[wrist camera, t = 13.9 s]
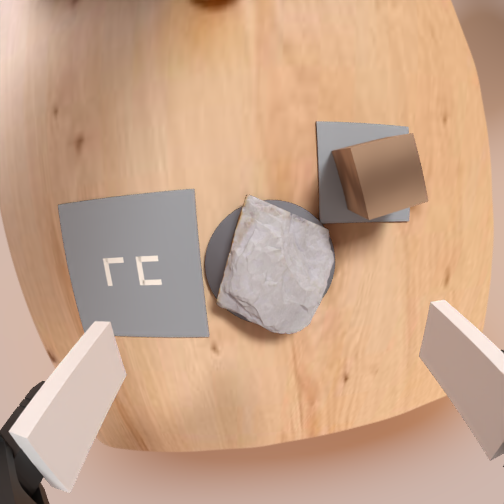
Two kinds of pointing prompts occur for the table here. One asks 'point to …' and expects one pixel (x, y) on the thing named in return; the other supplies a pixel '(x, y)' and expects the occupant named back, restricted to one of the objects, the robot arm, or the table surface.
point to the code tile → (137, 263)
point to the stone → (275, 268)
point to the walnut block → (381, 176)
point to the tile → (329, 181)
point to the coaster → (223, 238)
